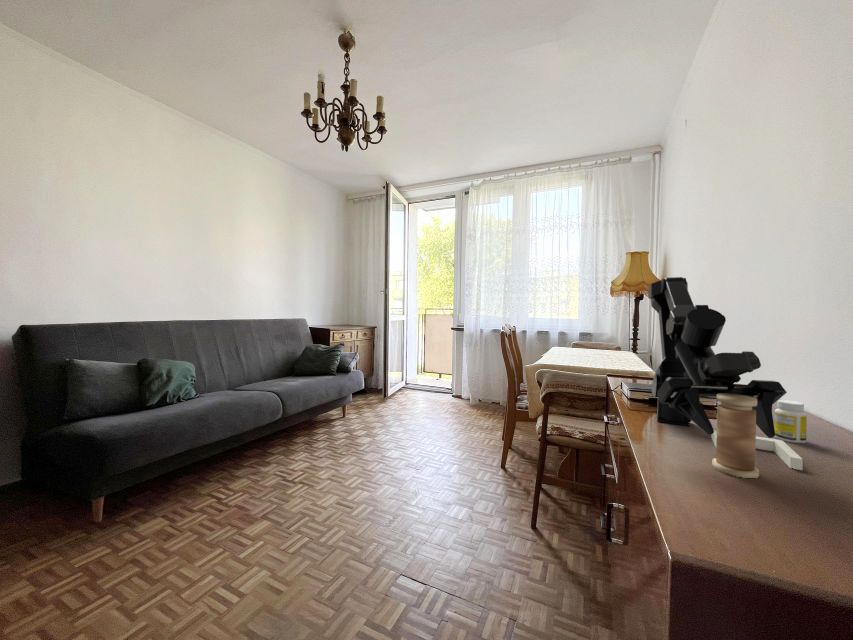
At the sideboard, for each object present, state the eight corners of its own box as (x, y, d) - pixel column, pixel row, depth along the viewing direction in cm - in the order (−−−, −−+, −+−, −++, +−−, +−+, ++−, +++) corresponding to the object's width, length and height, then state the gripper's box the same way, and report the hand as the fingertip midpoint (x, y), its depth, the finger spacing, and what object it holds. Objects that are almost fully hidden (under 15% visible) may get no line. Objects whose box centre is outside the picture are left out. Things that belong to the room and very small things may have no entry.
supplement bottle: (796, 437, 75) (797, 400, 75) (812, 445, 71) (813, 405, 71) (769, 434, 77) (770, 398, 77) (783, 442, 72) (784, 403, 72)
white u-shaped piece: (720, 455, 65) (720, 445, 65) (711, 438, 74) (711, 429, 74) (802, 470, 59) (802, 459, 59) (781, 450, 68) (781, 440, 68)
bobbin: (715, 472, 58) (716, 397, 58) (709, 460, 63) (711, 391, 63) (763, 482, 54) (765, 403, 54) (753, 468, 59) (755, 395, 59)
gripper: (666, 334, 64) (704, 408, 53) (778, 336, 61) (842, 414, 50) (645, 369, 71) (674, 439, 61) (743, 372, 69) (792, 446, 58)
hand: (741, 435), depth 57 cm, fingers open, 9 cm apart
